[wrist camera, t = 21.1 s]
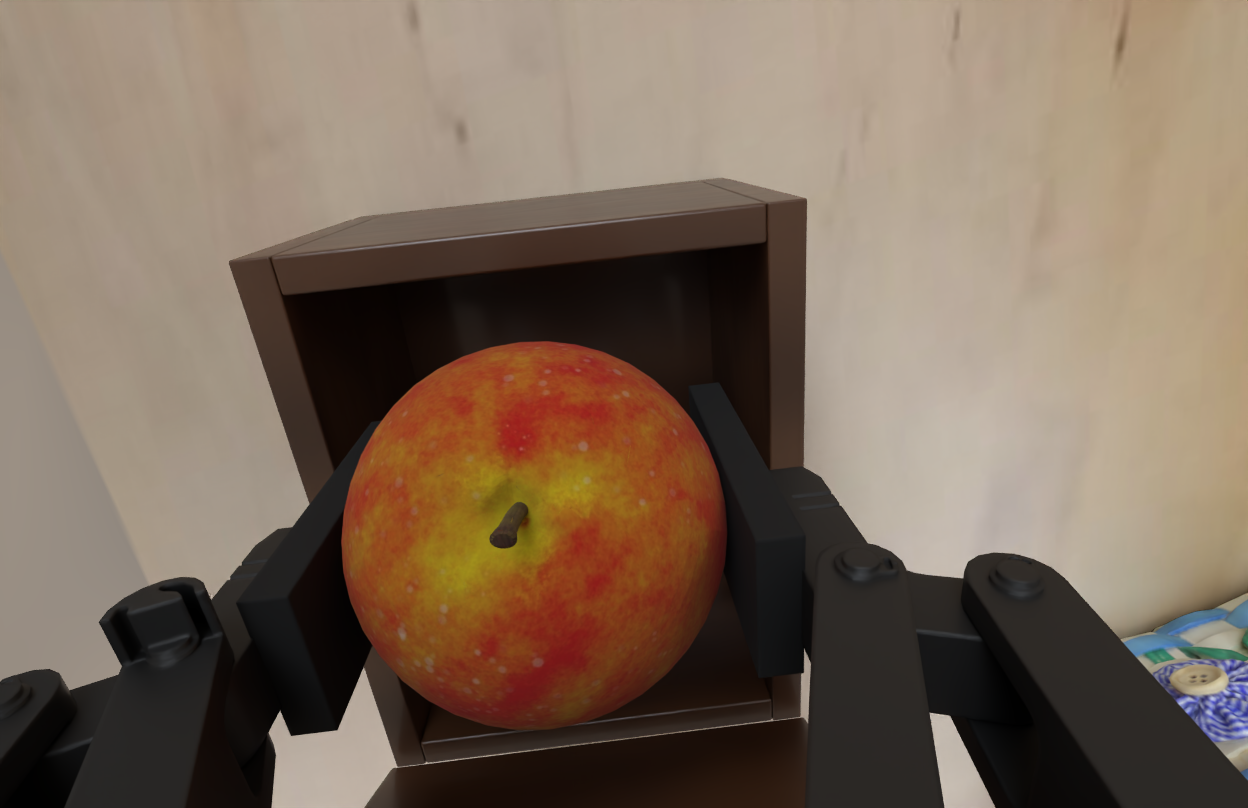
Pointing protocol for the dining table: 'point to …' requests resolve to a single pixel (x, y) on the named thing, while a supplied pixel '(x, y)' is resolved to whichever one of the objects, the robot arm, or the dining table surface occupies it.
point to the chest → (556, 312)
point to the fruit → (534, 535)
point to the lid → (621, 774)
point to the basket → (1205, 671)
